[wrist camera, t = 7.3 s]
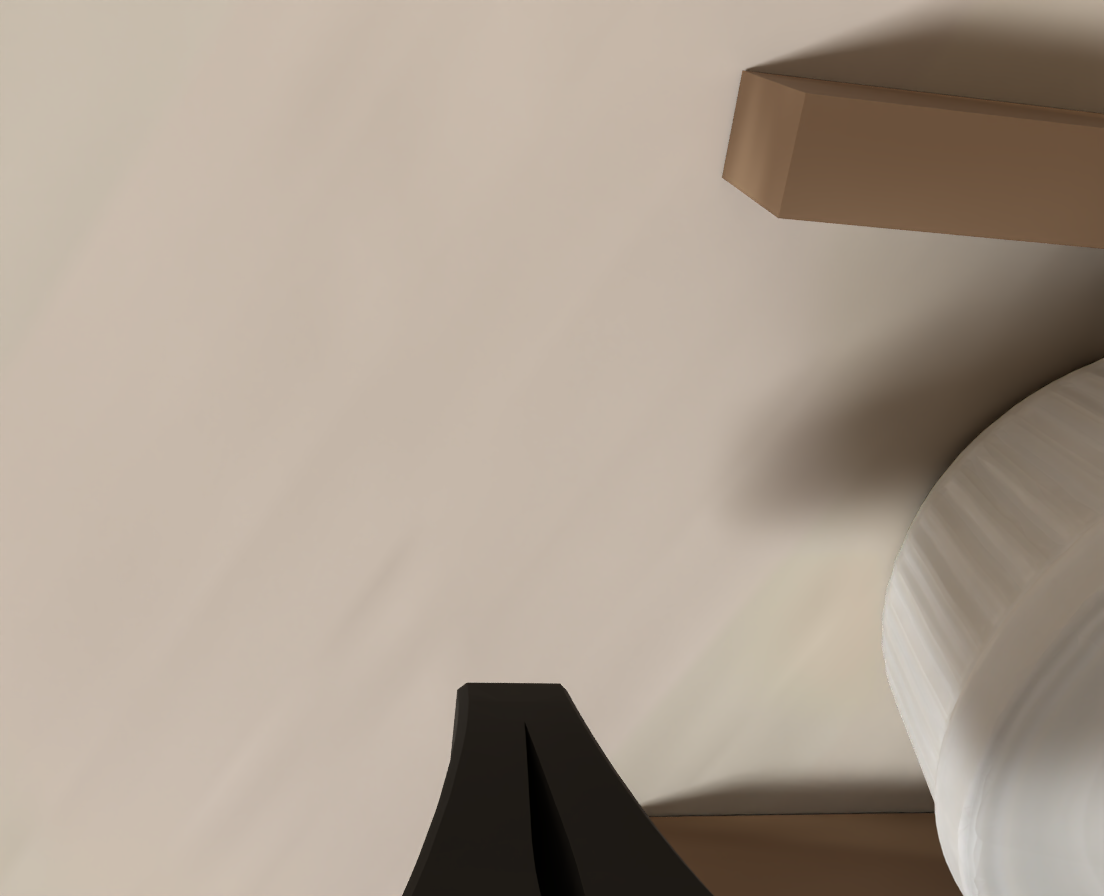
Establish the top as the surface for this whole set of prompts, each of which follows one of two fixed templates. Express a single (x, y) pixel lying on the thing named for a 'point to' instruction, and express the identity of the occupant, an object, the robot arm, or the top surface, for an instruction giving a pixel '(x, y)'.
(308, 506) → the top surface
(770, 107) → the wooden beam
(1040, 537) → the ramekin
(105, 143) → the top surface
